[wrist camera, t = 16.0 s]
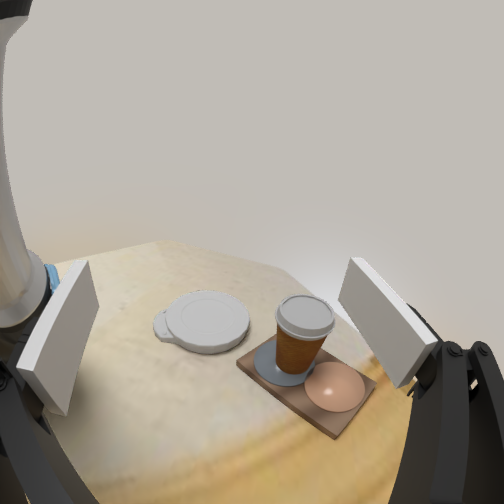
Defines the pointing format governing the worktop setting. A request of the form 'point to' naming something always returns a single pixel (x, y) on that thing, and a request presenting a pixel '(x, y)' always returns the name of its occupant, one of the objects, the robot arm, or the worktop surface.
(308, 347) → the disposable coffee cup
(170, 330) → the lid
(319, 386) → the terracotta disc
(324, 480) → the worktop surface
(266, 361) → the slate disc
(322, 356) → the walnut board
